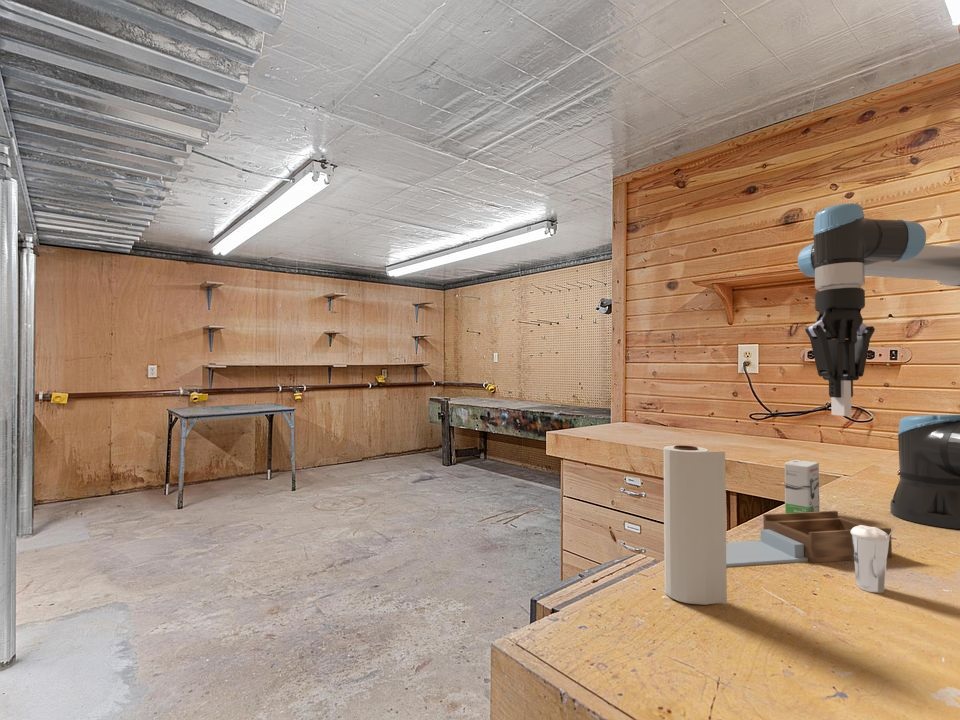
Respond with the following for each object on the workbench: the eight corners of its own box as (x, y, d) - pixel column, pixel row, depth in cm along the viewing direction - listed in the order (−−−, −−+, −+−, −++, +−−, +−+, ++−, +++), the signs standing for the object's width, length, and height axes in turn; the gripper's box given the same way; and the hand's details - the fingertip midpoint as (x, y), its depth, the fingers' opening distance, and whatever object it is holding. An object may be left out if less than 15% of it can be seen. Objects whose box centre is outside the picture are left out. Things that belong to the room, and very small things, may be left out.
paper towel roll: (655, 590, 71) (654, 445, 72) (687, 583, 73) (685, 443, 74) (693, 612, 65) (692, 452, 65) (727, 605, 67) (725, 450, 67)
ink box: (809, 520, 106) (808, 466, 106) (783, 515, 110) (783, 463, 110) (820, 512, 112) (819, 461, 112) (795, 508, 115) (795, 458, 116)
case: (835, 536, 95) (835, 510, 95) (891, 557, 84) (891, 528, 85) (763, 540, 93) (763, 514, 93) (811, 562, 82) (811, 533, 82)
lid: (767, 545, 92) (767, 528, 92) (808, 564, 83) (807, 545, 83) (690, 549, 89) (690, 532, 89) (723, 570, 80) (723, 550, 80)
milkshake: (888, 600, 68) (886, 529, 69) (845, 585, 73) (844, 519, 73) (903, 593, 70) (902, 524, 71) (860, 579, 75) (859, 515, 75)
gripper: (850, 293, 95) (852, 413, 95) (792, 291, 93) (794, 414, 93) (888, 287, 88) (891, 416, 87) (826, 284, 86) (828, 417, 85)
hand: (841, 415), depth 90 cm, fingers closed
